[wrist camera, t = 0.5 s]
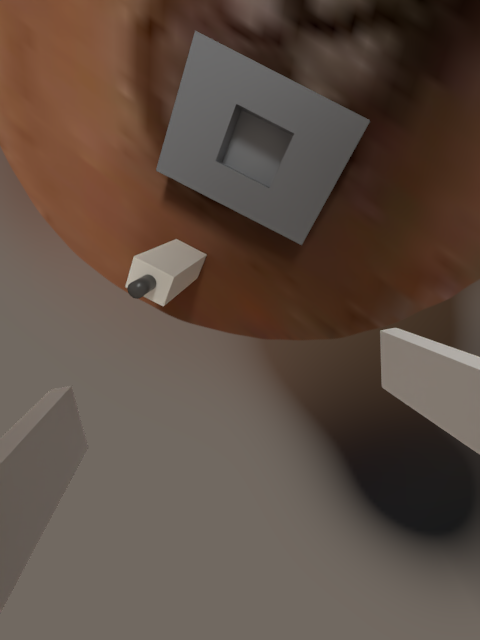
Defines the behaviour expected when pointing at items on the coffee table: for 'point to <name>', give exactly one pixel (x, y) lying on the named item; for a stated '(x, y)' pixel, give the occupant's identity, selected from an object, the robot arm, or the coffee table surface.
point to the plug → (164, 271)
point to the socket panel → (256, 139)
